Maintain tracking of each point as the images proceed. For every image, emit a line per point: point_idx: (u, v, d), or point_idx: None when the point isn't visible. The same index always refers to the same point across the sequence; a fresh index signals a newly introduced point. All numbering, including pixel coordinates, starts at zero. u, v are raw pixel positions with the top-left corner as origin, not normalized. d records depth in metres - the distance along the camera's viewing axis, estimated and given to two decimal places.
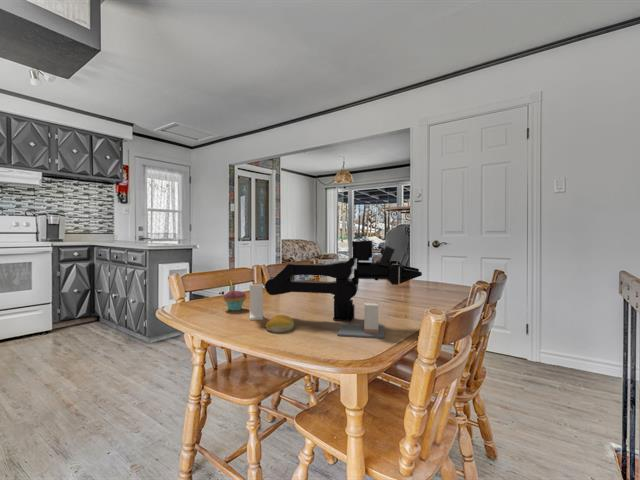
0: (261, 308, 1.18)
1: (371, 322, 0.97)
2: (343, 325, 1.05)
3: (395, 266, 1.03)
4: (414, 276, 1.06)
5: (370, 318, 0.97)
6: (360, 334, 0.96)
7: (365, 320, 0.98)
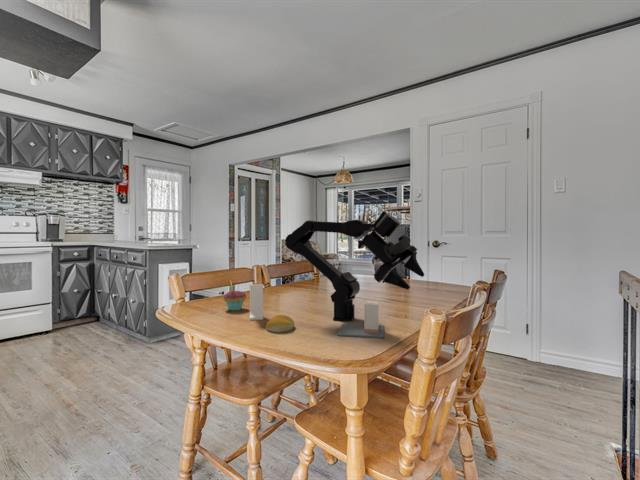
0: (261, 308, 1.18)
1: (371, 322, 0.97)
2: (343, 325, 1.05)
3: (384, 270, 0.99)
4: (400, 285, 1.01)
5: (370, 318, 0.97)
6: (360, 334, 0.96)
7: (365, 320, 0.98)
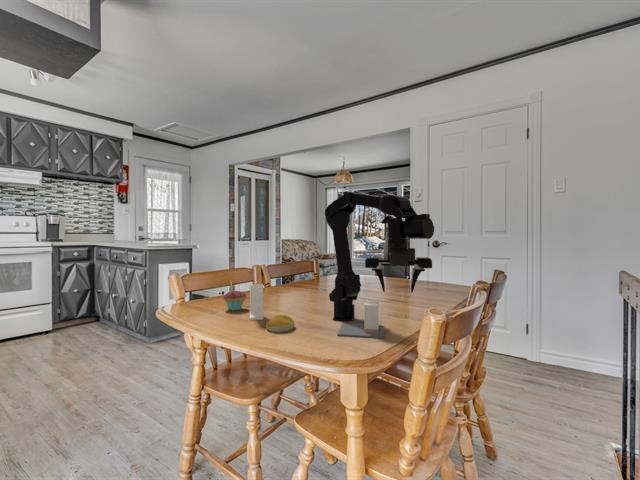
0: (261, 308, 1.18)
1: (371, 322, 0.97)
2: (343, 325, 1.05)
3: (365, 264, 0.97)
4: None
5: (370, 318, 0.97)
6: (360, 334, 0.96)
7: (365, 320, 0.98)
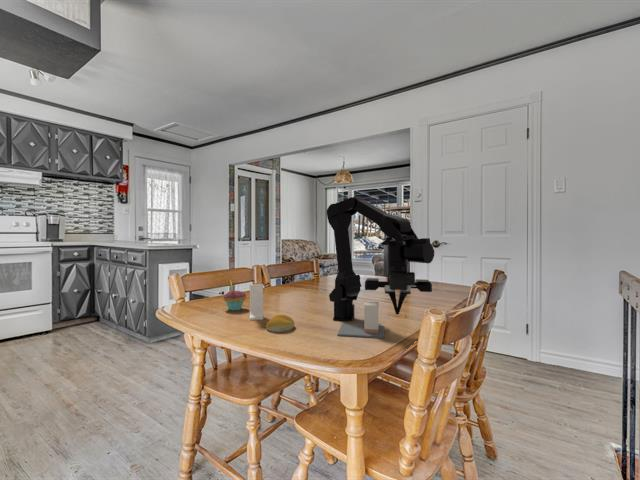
0: (261, 308, 1.18)
1: (371, 322, 0.97)
2: (343, 325, 1.05)
3: (365, 286, 0.97)
4: None
5: (370, 318, 0.97)
6: (360, 334, 0.96)
7: (365, 320, 0.98)
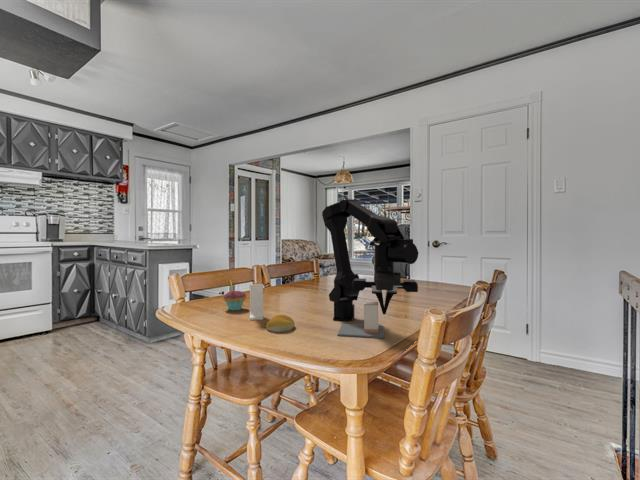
0: (261, 308, 1.18)
1: (371, 322, 0.97)
2: (343, 325, 1.05)
3: (352, 286, 0.98)
4: None
5: (370, 318, 0.97)
6: (360, 334, 0.96)
7: (365, 320, 0.98)
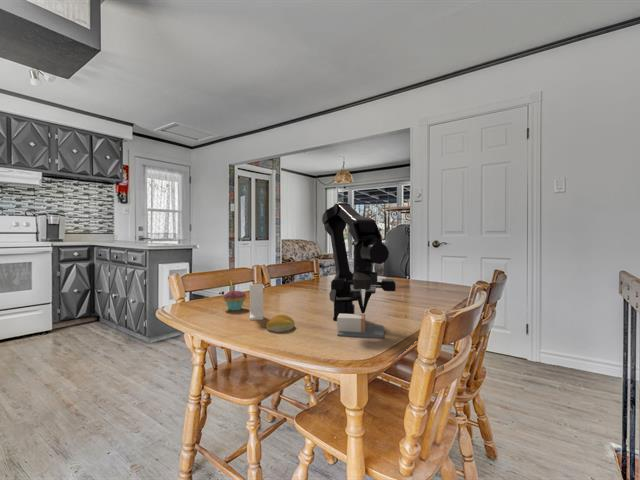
0: (261, 308, 1.18)
1: (354, 325, 0.98)
2: None
3: (331, 286, 0.99)
4: None
5: (350, 325, 0.99)
6: (360, 334, 0.96)
7: (352, 330, 0.99)
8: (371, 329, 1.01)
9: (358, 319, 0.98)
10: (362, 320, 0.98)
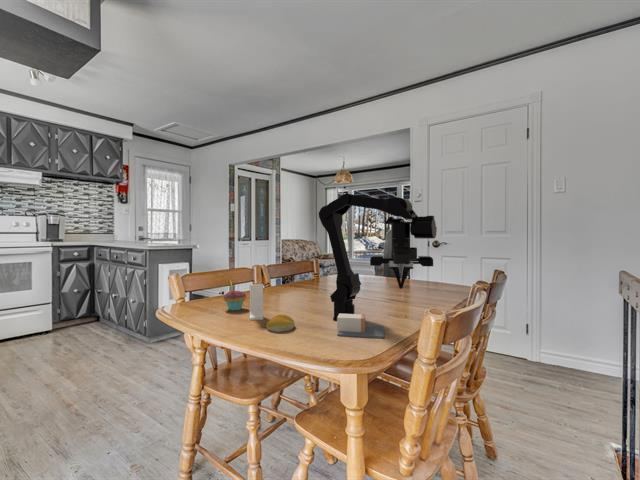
0: (261, 308, 1.18)
1: (354, 325, 0.98)
2: None
3: (370, 262, 1.04)
4: None
5: (350, 325, 0.99)
6: (360, 334, 0.96)
7: (352, 330, 0.99)
8: (371, 329, 1.01)
9: (358, 319, 0.98)
10: (362, 320, 0.98)
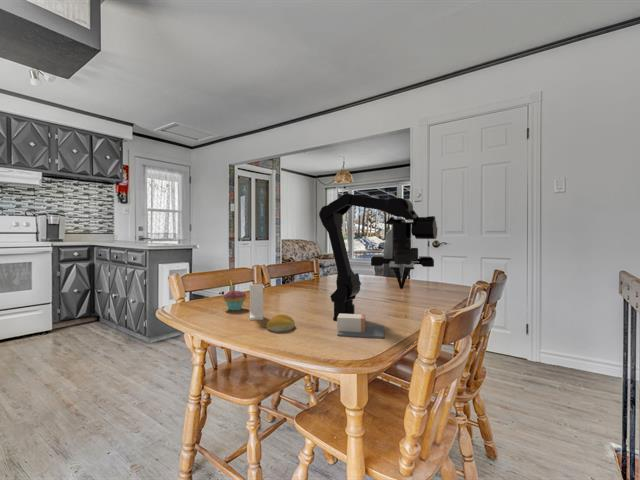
0: (261, 308, 1.18)
1: (354, 325, 0.98)
2: None
3: (371, 262, 1.04)
4: None
5: (350, 325, 0.99)
6: (360, 334, 0.96)
7: (352, 330, 0.99)
8: (371, 329, 1.01)
9: (358, 319, 0.98)
10: (362, 320, 0.98)
